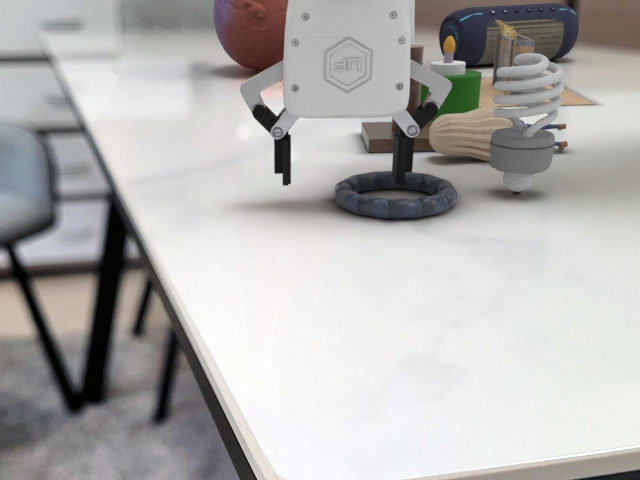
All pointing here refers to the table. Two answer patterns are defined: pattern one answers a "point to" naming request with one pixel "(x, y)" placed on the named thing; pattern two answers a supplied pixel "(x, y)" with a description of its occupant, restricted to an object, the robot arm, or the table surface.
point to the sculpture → (252, 31)
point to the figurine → (473, 132)
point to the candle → (455, 83)
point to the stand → (382, 133)
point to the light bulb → (518, 141)
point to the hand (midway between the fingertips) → (342, 181)
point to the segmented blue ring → (395, 208)
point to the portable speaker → (528, 20)
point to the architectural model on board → (504, 57)
